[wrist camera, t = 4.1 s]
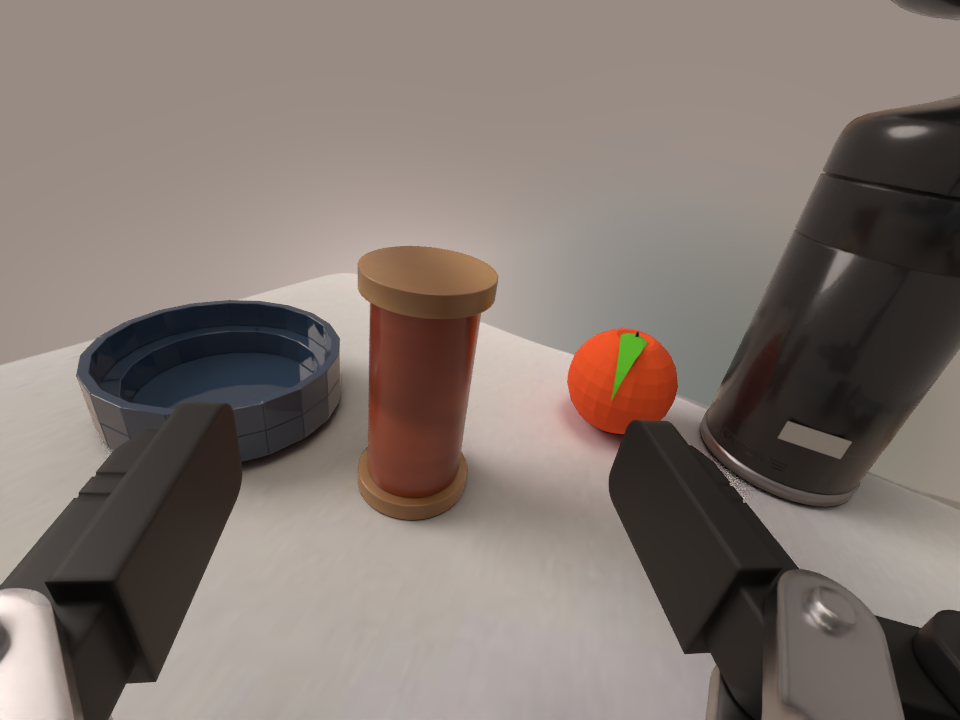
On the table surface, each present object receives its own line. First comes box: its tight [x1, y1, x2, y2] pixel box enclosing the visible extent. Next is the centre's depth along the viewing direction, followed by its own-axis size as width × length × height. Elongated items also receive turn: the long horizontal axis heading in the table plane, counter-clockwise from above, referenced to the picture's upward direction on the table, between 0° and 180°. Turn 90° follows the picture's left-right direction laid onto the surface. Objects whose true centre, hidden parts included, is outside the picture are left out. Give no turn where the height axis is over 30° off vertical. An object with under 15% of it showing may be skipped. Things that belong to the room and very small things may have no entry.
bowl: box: [76, 300, 341, 462], centre depth 27 cm, size 13×13×4 cm
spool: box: [358, 246, 498, 520], centre depth 22 cm, size 6×6×12 cm
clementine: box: [567, 328, 678, 434], centre depth 30 cm, size 8×7×7 cm
